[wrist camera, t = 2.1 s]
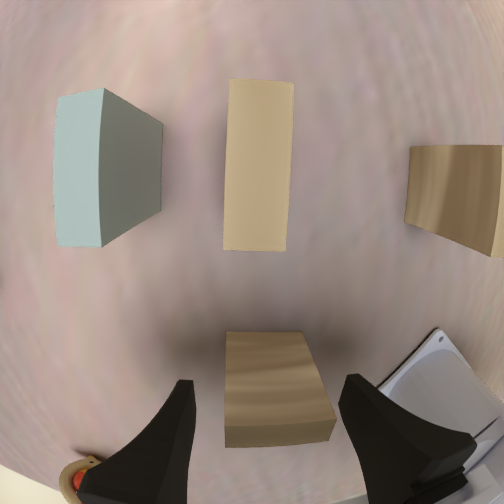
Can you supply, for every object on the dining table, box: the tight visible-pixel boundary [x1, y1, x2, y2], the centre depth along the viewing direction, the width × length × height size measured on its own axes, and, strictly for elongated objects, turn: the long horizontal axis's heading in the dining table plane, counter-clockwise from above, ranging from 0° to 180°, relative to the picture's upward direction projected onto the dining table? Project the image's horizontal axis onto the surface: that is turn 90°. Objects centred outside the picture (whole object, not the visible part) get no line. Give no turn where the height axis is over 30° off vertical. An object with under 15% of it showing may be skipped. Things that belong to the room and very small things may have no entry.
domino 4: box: [404, 145, 504, 258], centre depth 11 cm, size 2×4×7 cm, turn 177°
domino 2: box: [223, 78, 294, 251], centre depth 10 cm, size 2×4×7 cm, turn 177°
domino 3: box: [225, 331, 337, 448], centre depth 13 cm, size 2×4×7 cm, turn 87°
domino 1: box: [53, 88, 163, 247], centre depth 10 cm, size 2×4×7 cm, turn 178°
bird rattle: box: [59, 455, 101, 504], centre depth 15 cm, size 6×11×9 cm
